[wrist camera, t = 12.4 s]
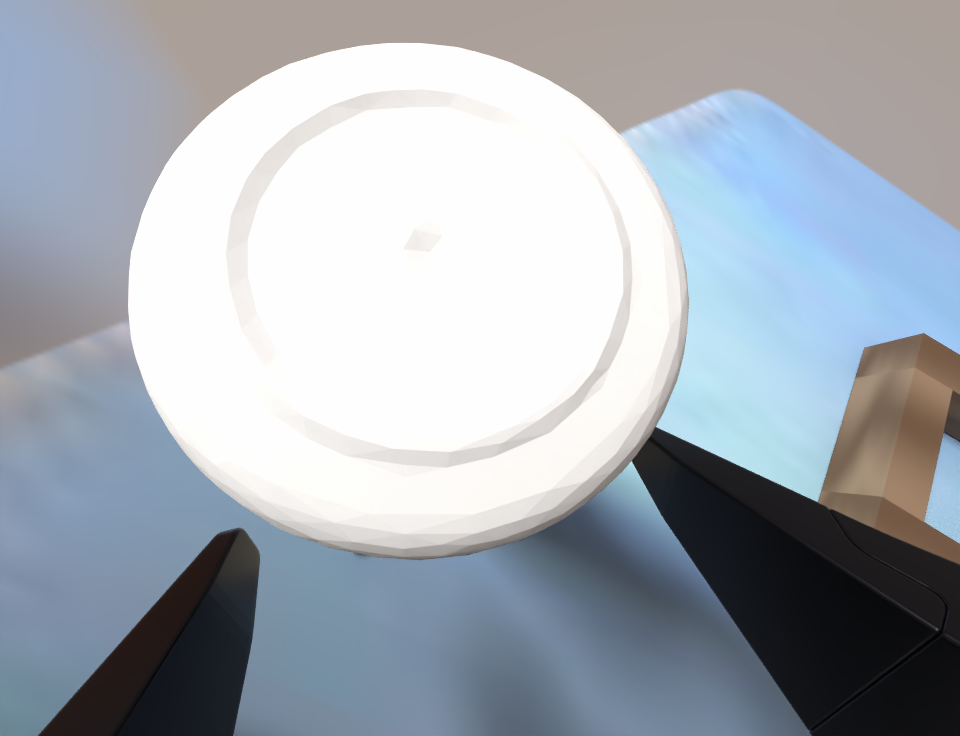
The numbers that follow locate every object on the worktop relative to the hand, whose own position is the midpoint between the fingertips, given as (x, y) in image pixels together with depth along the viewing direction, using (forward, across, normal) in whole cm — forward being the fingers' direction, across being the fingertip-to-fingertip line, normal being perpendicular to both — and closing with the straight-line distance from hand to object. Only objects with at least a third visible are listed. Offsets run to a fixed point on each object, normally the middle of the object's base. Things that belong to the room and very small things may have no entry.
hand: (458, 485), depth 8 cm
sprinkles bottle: (+7, 0, +4) cm, 8 cm away
